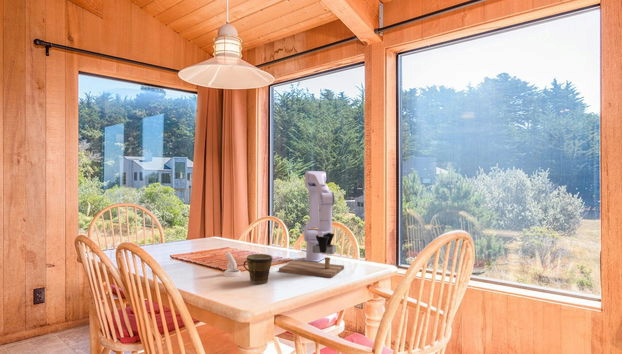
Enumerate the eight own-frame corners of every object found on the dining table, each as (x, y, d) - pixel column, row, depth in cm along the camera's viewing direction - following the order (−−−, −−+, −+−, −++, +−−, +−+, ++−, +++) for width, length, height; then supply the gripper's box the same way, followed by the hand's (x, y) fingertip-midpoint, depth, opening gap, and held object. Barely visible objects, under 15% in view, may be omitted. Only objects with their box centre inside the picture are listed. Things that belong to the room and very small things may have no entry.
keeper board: (295, 263, 191) (295, 250, 191) (344, 268, 182) (344, 255, 182) (278, 271, 174) (279, 257, 174) (331, 277, 165) (331, 263, 165)
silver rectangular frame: (316, 250, 180) (316, 243, 180) (335, 251, 177) (336, 245, 177) (312, 252, 175) (312, 245, 175) (332, 254, 172) (332, 247, 172)
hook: (213, 265, 160) (217, 253, 166) (224, 285, 167) (228, 272, 172) (230, 262, 159) (234, 250, 165) (241, 282, 165) (244, 270, 171)
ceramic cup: (259, 277, 164) (260, 252, 164) (277, 282, 157) (277, 256, 157) (234, 283, 154) (235, 257, 153) (252, 288, 147) (253, 261, 147)
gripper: (321, 218, 184) (321, 247, 184) (311, 221, 170) (310, 253, 170) (336, 218, 182) (336, 248, 182) (327, 222, 168) (326, 254, 168)
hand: (324, 251), depth 176 cm, fingers closed on silver rectangular frame, 6 cm apart
